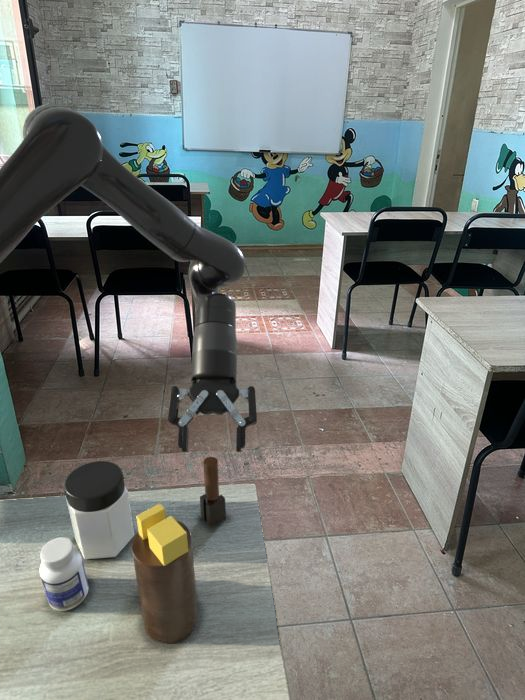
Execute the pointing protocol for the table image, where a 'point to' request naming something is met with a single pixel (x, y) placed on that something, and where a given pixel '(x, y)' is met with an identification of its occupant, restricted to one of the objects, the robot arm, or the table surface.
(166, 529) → the butter block
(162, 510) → the block
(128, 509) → the jar
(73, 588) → the pill bottle
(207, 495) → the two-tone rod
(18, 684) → the table surface
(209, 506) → the knife stand
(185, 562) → the butter stand
